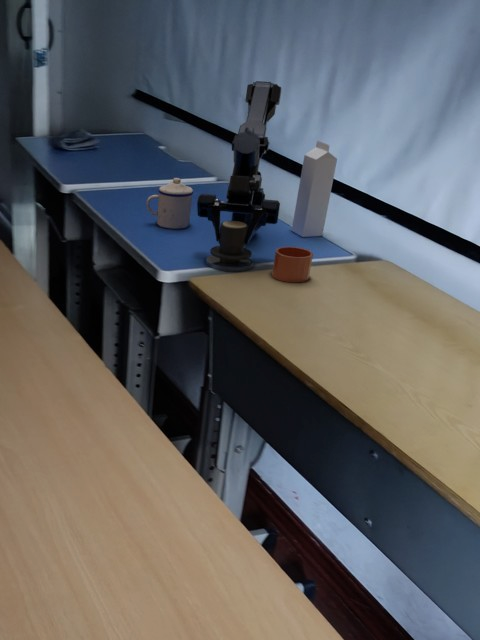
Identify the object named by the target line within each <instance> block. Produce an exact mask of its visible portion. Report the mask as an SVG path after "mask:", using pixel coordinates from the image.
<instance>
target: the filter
mask: <svg viewBox="0 0 480 640" xmlns="http://www.w3.org/2000/svg"><path fill="white" fill-rule="evenodd" d="M248 227H249V226H248V225H247V224H246V223H243V222H238V221H231V220H226V221H222V222H220V232H219V240H218V241H217V242H218V245H216V246H213V247H211V248H210V251H209V253H210V256H211V255H213V256H215V257H217V258H220V261H221V262H223V263H228V264H236V263H239V262H240V260H244V259H248V258H250V259H251V257H252V256H253V255H252V254H253V252H252V251H251V250H250V249H249V248H247V247H245V246H246V245H247V244H246V238H247V234H248Z"/></svg>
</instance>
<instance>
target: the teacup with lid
mask: <svg viewBox="0 0 480 640" xmlns="http://www.w3.org/2000/svg"><path fill="white" fill-rule="evenodd" d="M181 181H182V179H181V178H179V177H174V178H173V179H172V181H170V182H168V183H166V184H164V185H161V186H160V187H159V188H158V194H153V195H150V196H148V198H147V199H146V208H147V209H146V210H147V211H148V212H149V213H150V214H151V215H154V216H157V217H156V224H157V225H158V226H159V227H161V228H164V229H172V230H179V229H185V228H188V227H189V226H190V219H191V211H192V200H193V194H194V190H193V188H192V187H190V186H188V185H187V184H185V183H184V182H181ZM153 199H158V204H157V211H154V210H153V209H152V208H151V207H150V202H151V200H153Z"/></svg>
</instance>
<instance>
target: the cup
mask: <svg viewBox="0 0 480 640" xmlns="http://www.w3.org/2000/svg"><path fill="white" fill-rule="evenodd" d="M313 257H314V253H313V251H311V250H310V249H307V248H303V247H298V246H281V247H278V248H276V249H275V252H274V258H273V264H272V269H271V276H272V278H274V279H275V280H278V281H281V282H286V283H302V282H306V281H308V280H309V278H310V274H311V268H312V263H313Z"/></svg>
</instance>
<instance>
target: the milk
mask: <svg viewBox="0 0 480 640" xmlns="http://www.w3.org/2000/svg"><path fill="white" fill-rule="evenodd" d="M329 151H330V144H327V143H325V142H322V141H321V140H317V141H316V145H315V147H314V148H312V149H311V150H309V151H307V152H306V153H304V155H303V156H304V157H303V161H302V168H301V173H300V179H299V185H298V192H297V195H296V196H297V197H296V203H295V208H294V213H293V220H292V225H291V231H292V232H293V233H294V234H296V235H298V236H300V237H301V238H312V237H323V234H324V229H325V224H326V219H327V214H328V210H329V209H328V208H329V203H330V199H331V193H332V188H333V182H334V179H335V173H336V168H337V163H338V158H337V157H336V156H335V155H334V154H332V153H331V152H329Z"/></svg>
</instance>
